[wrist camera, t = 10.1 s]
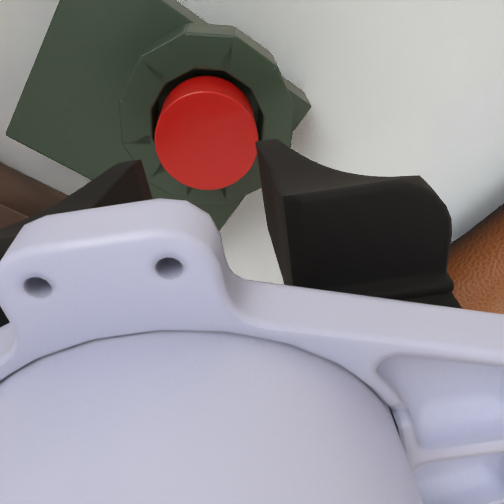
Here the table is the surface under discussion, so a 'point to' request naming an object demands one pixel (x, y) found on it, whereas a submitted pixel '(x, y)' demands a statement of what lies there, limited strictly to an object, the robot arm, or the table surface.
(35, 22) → the table surface
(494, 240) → the sunglasses case
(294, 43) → the table surface
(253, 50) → the button box
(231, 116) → the button
